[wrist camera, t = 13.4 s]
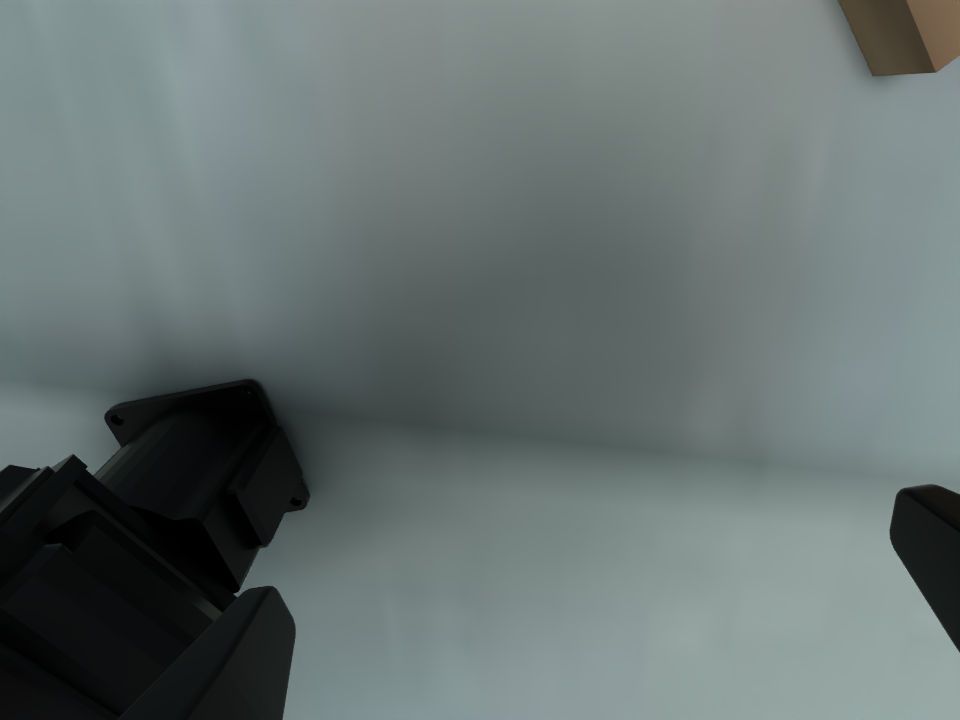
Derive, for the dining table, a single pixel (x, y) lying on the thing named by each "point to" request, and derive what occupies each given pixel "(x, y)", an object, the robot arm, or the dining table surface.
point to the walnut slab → (905, 34)
